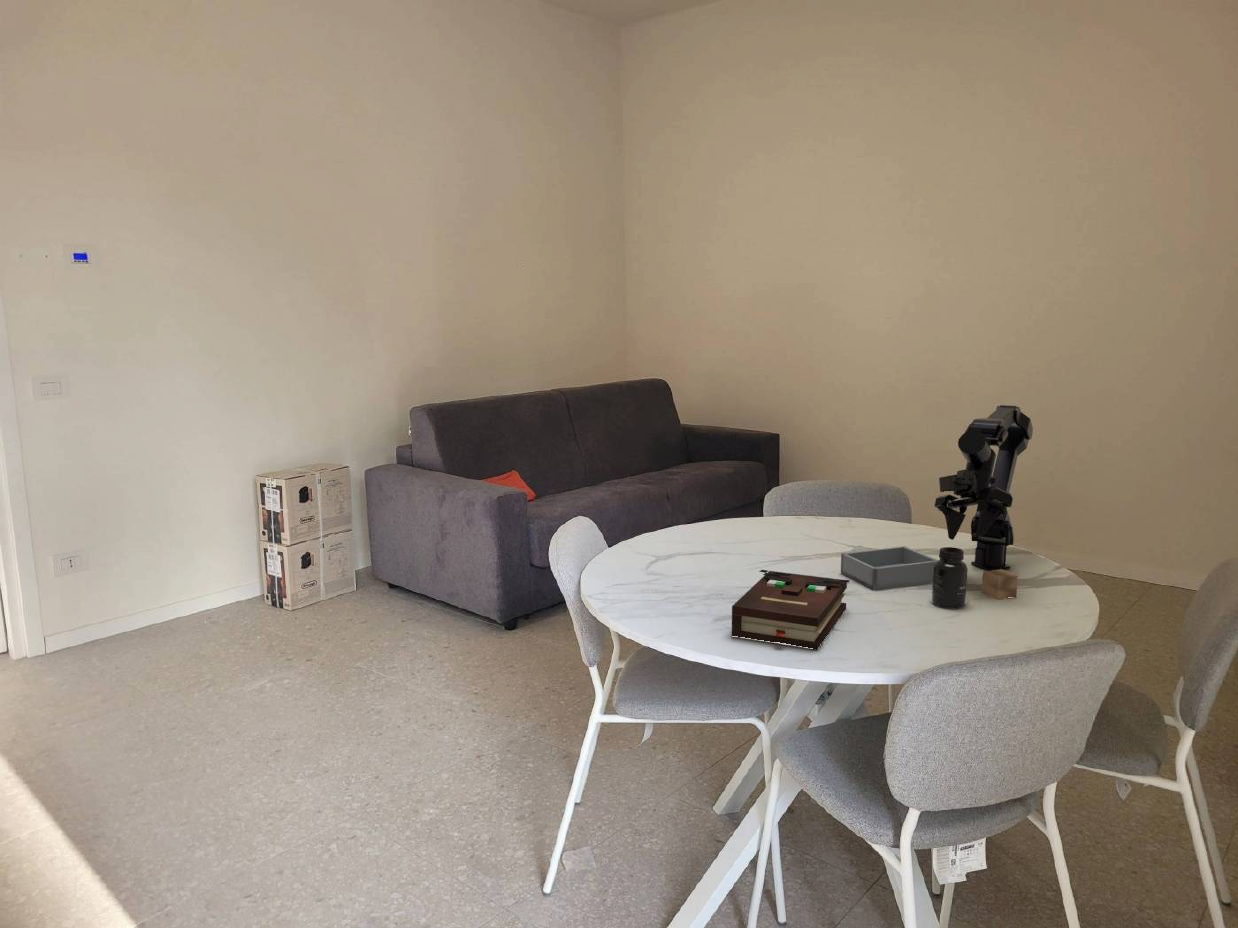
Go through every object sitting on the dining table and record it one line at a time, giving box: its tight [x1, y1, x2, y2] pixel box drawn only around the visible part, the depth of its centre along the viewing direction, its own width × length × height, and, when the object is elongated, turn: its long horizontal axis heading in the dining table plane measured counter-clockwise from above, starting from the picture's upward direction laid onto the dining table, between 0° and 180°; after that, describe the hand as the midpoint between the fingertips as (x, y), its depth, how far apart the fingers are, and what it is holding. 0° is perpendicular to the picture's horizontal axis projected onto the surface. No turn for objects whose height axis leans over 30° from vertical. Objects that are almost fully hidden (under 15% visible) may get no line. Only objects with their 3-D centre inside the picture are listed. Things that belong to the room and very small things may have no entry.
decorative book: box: [731, 569, 851, 650], centre depth 185 cm, size 19×8×30 cm
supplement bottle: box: [931, 546, 969, 609], centre depth 194 cm, size 7×7×12 cm
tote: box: [840, 545, 939, 591], centre depth 213 cm, size 18×14×5 cm
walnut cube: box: [981, 569, 1019, 601], centre depth 200 cm, size 5×5×5 cm
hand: (965, 537), depth 200 cm, fingers open, 9 cm apart
